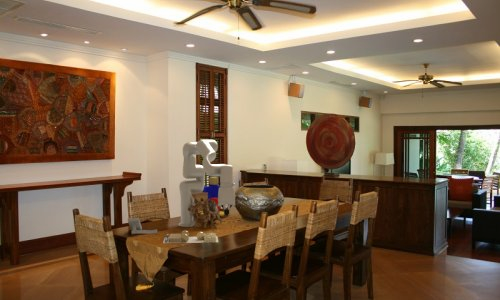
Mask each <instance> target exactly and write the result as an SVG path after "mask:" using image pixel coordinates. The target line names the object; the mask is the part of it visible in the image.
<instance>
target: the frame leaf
mask: <svg viewBox="0 0 500 300" xmlns="http://www.w3.org/2000/svg"><path fill="white" fill-rule="evenodd" d="M189 237H190V233H189V231H188V230H186V229H184V230H182V232H181V233H170V234H169V243H168V244H174V243H173V242H181V241H182V242H187V241H188V239H189Z"/></svg>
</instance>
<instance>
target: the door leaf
mask: <svg viewBox="0 0 500 300" xmlns="http://www.w3.org/2000/svg"><path fill="white" fill-rule="evenodd" d="M216 236H217V235H216V232H203V231H198V232H197V233H196V237H197V239H198V240H202V239H203V238H204V243H217V242H216Z"/></svg>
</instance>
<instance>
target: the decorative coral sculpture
mask: <svg viewBox="0 0 500 300" xmlns="http://www.w3.org/2000/svg"><path fill="white" fill-rule="evenodd" d="M209 200H210V199H208V198H207V199H205V200H204V198H203V197H200V200H197V198H194V206H191V208H193V209H191V208H190V207H189V208H188V211H189V212H190V211H192V216H194V218H193V220H194V222H195V224H194V226H193V228H197V226H199V227H202V224H201V222H203V223H204V224H203V228H204V229H205V228H206V226H207V224H208V223H210V225H209V227H213V228H214V229H216V228H217V225H215V224H214V222H216V220H218V221H219V222H220V224H222V223H224V219H221V217H220V214H219V211H218V207H217V205H216V203H215V201H213V200H210V201H209ZM201 206H202V207H201ZM199 207H201V208H202V212H203V213H204V214H202V215H200V213H199V209H198V208H199ZM199 220H200V222H199Z"/></svg>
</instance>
